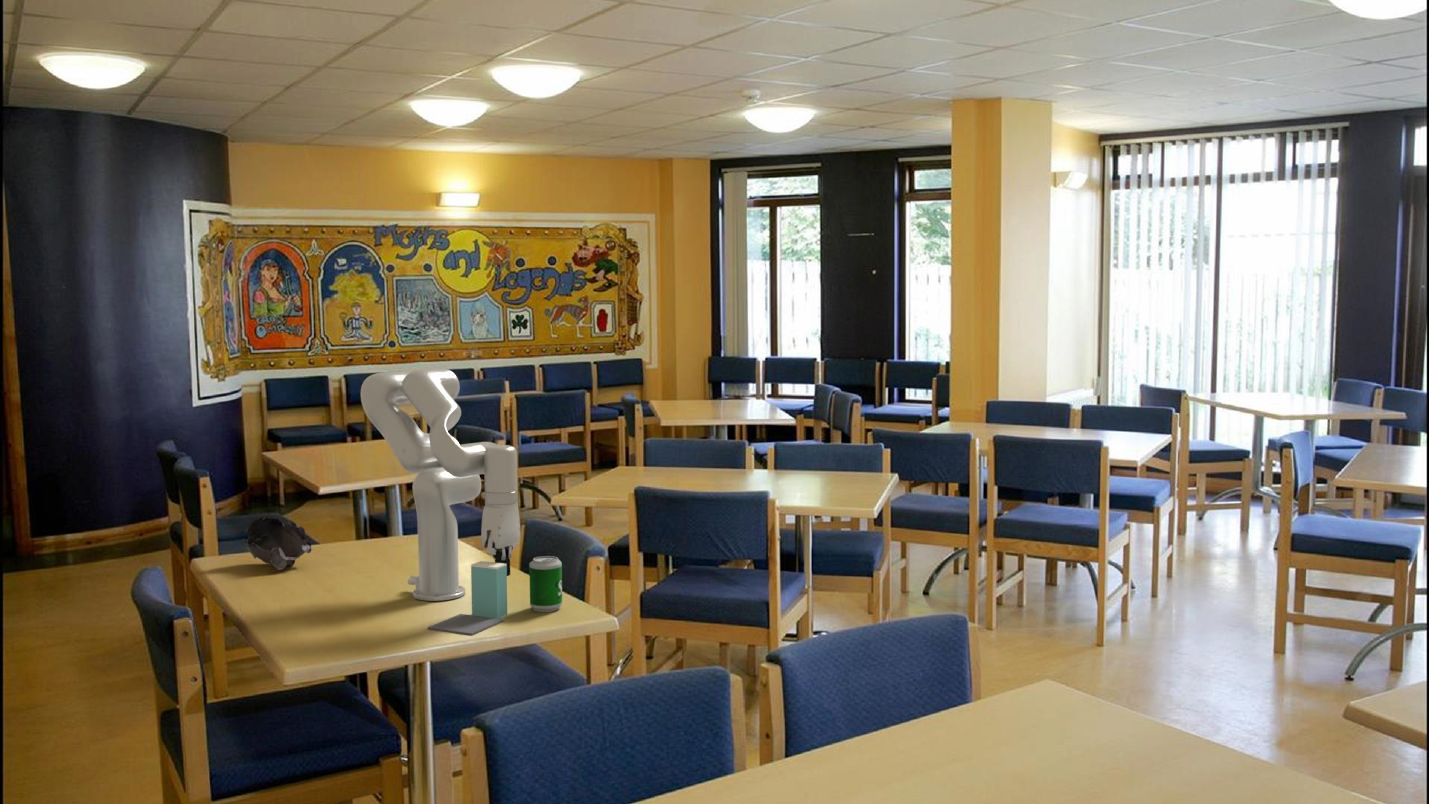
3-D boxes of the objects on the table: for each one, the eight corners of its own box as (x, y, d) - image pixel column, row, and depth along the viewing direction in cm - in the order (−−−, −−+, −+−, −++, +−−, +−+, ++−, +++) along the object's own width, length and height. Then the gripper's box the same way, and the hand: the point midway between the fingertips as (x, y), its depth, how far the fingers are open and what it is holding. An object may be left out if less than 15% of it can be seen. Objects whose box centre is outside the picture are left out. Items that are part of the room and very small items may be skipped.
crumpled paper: (321, 562, 314) (273, 558, 324) (314, 511, 312) (265, 508, 322) (280, 577, 302) (231, 572, 312) (272, 524, 300) (222, 520, 310)
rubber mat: (427, 628, 252) (427, 627, 252) (460, 615, 263) (460, 613, 263) (472, 635, 247) (472, 633, 247) (504, 621, 258) (504, 619, 258)
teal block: (471, 615, 263) (471, 564, 262) (482, 611, 266) (481, 561, 265) (497, 619, 260) (496, 567, 259) (507, 614, 264) (506, 563, 263)
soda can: (555, 614, 264) (555, 563, 263) (525, 612, 266) (524, 561, 265) (566, 605, 272) (566, 556, 271) (536, 603, 273) (536, 554, 272)
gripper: (505, 492, 274) (507, 567, 276) (469, 502, 260) (470, 581, 262) (532, 494, 271) (533, 570, 273) (496, 504, 257) (498, 584, 259)
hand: (502, 575), depth 267 cm, fingers closed
